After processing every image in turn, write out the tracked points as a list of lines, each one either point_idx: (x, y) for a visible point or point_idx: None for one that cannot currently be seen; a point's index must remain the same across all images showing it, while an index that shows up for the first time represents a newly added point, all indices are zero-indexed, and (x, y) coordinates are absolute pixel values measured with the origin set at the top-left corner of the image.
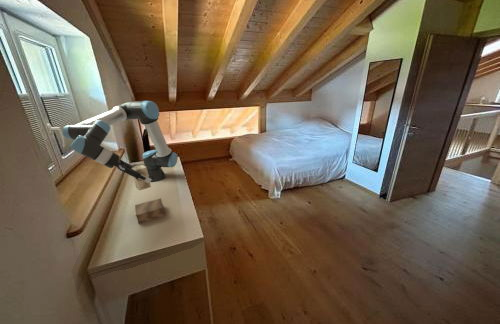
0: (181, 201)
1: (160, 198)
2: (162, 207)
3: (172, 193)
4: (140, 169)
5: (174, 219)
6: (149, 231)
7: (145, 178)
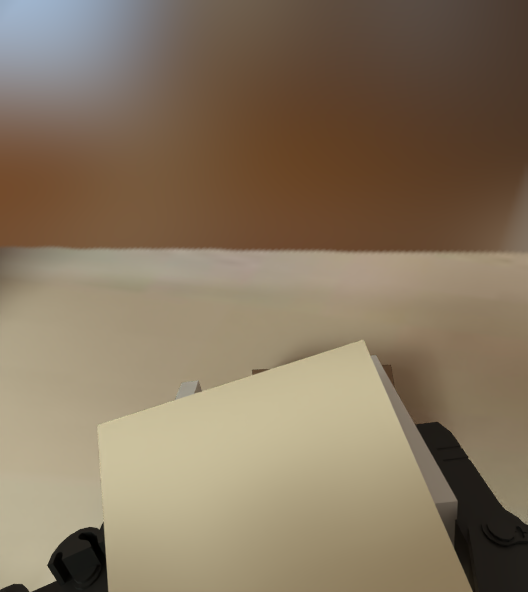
0: (266, 282)
1: (253, 372)
2: (386, 372)
3: (147, 312)
4: (434, 509)
5: (435, 336)
6: (511, 479)
7: (441, 431)
